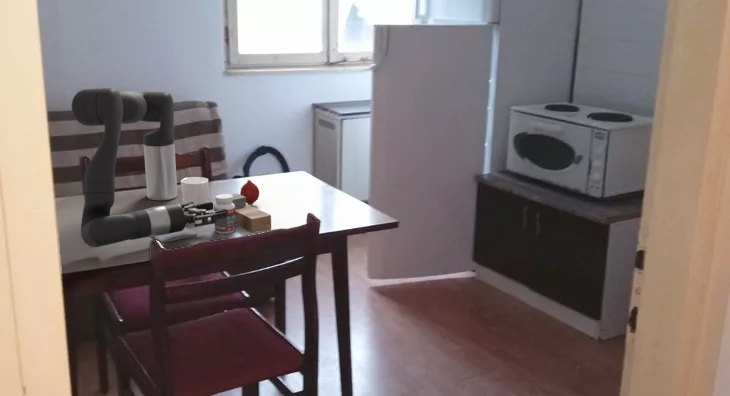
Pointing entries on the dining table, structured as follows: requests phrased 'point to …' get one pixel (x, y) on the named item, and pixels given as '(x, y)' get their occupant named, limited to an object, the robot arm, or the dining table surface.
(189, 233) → the grey pad
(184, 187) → the white cup
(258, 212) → the wooden block
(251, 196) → the onion
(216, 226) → the pill bottle
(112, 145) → the robot arm
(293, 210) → the dining table surface
